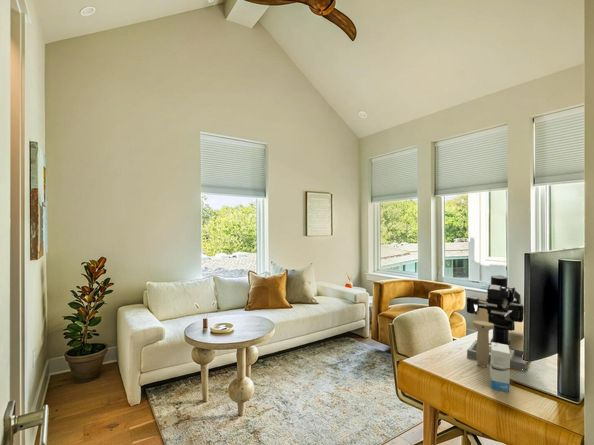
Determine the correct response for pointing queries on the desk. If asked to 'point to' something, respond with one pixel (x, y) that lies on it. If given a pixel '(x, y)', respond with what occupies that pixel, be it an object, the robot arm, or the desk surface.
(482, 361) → the handle
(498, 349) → the ink box
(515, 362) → the walled box
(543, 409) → the desk surface
